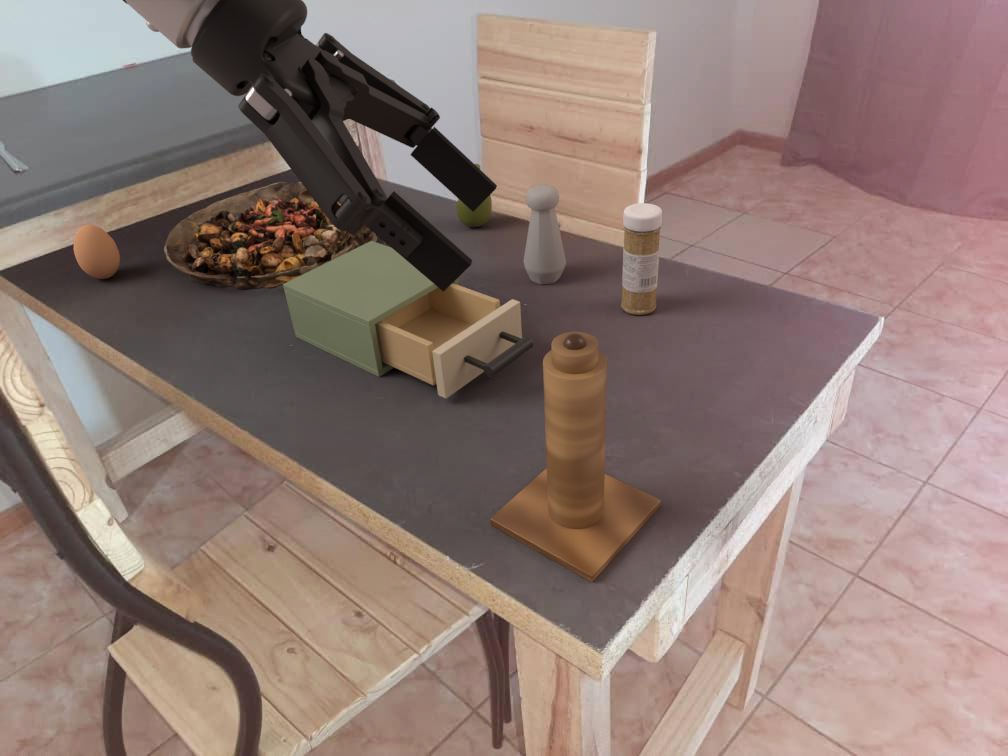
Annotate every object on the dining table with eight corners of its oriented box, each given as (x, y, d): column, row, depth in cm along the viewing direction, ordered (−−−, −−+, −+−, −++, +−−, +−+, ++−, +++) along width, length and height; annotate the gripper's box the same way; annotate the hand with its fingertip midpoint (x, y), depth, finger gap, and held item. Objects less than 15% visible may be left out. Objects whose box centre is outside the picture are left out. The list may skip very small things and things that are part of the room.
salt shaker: (573, 273, 108) (572, 183, 101) (553, 291, 105) (551, 199, 97) (537, 264, 111) (534, 177, 104) (516, 282, 107) (511, 192, 100)
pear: (471, 235, 121) (466, 173, 115) (451, 226, 124) (445, 165, 118) (499, 224, 123) (495, 163, 118) (478, 215, 127) (473, 155, 121)
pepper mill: (583, 537, 67) (583, 360, 56) (536, 513, 70) (528, 339, 59) (614, 504, 70) (620, 330, 59) (569, 482, 73) (567, 311, 62)
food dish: (418, 264, 116) (411, 216, 111) (192, 330, 105) (173, 280, 100) (345, 185, 141) (337, 143, 136) (157, 231, 130) (141, 188, 125)
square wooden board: (592, 582, 64) (592, 576, 63) (490, 524, 70) (489, 518, 69) (660, 506, 70) (661, 499, 70) (562, 459, 76) (562, 453, 76)
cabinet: (463, 323, 99) (457, 270, 95) (379, 377, 90) (368, 321, 86) (380, 290, 108) (371, 240, 103) (295, 337, 99) (282, 284, 94)
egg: (80, 277, 116) (59, 226, 112) (119, 264, 119) (100, 214, 115) (92, 290, 113) (71, 237, 108) (132, 276, 116) (112, 224, 111)
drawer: (551, 355, 90) (550, 312, 87) (475, 413, 82) (471, 367, 79) (435, 310, 100) (429, 269, 97) (357, 357, 92) (348, 315, 89)
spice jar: (651, 297, 102) (657, 200, 94) (660, 314, 98) (667, 214, 90) (616, 300, 101) (619, 203, 94) (624, 318, 98) (628, 218, 90)
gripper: (263, 20, 61) (464, 204, 68) (89, 105, 40) (403, 356, 47) (317, -59, 57) (524, 143, 64) (156, -10, 37) (485, 279, 44)
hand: (473, 234), depth 56 cm, fingers open, 13 cm apart
